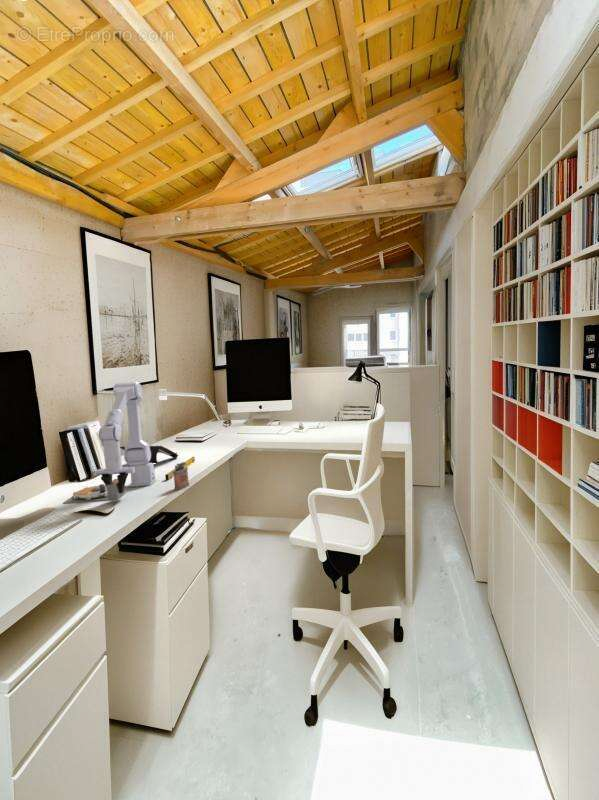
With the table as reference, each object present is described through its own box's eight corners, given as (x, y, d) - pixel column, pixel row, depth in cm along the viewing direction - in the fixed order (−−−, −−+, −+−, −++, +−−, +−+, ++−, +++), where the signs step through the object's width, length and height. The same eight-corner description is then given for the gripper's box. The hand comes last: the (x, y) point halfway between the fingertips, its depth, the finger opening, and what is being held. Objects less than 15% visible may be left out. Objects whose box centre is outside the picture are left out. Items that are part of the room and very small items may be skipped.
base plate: (126, 486, 193) (126, 485, 193) (110, 500, 175) (109, 499, 175) (83, 489, 193) (83, 488, 192) (62, 503, 175) (62, 502, 175)
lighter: (179, 490, 182) (177, 465, 181) (172, 490, 183) (170, 465, 182) (191, 484, 190) (189, 461, 189) (184, 484, 191) (182, 460, 190)
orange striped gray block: (125, 493, 176) (123, 478, 175) (117, 500, 168) (116, 484, 167) (116, 494, 176) (114, 478, 175) (108, 500, 168) (106, 484, 167)
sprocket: (105, 485, 196) (104, 475, 195) (126, 490, 185) (125, 480, 184) (64, 496, 183) (63, 485, 182) (85, 502, 172) (84, 491, 171)
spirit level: (192, 462, 232) (191, 456, 231) (194, 462, 231) (194, 456, 231) (165, 481, 199) (165, 474, 198) (168, 481, 198) (168, 474, 198)
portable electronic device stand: (180, 469, 243) (182, 452, 246) (159, 459, 222) (161, 441, 225) (141, 470, 248) (144, 453, 251) (117, 460, 227) (120, 442, 230)
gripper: (88, 461, 166) (92, 497, 168) (128, 458, 166) (132, 494, 168) (96, 456, 173) (100, 491, 175) (135, 454, 174) (138, 489, 175)
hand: (116, 492), depth 172 cm, fingers closed on orange striped gray block, 3 cm apart
